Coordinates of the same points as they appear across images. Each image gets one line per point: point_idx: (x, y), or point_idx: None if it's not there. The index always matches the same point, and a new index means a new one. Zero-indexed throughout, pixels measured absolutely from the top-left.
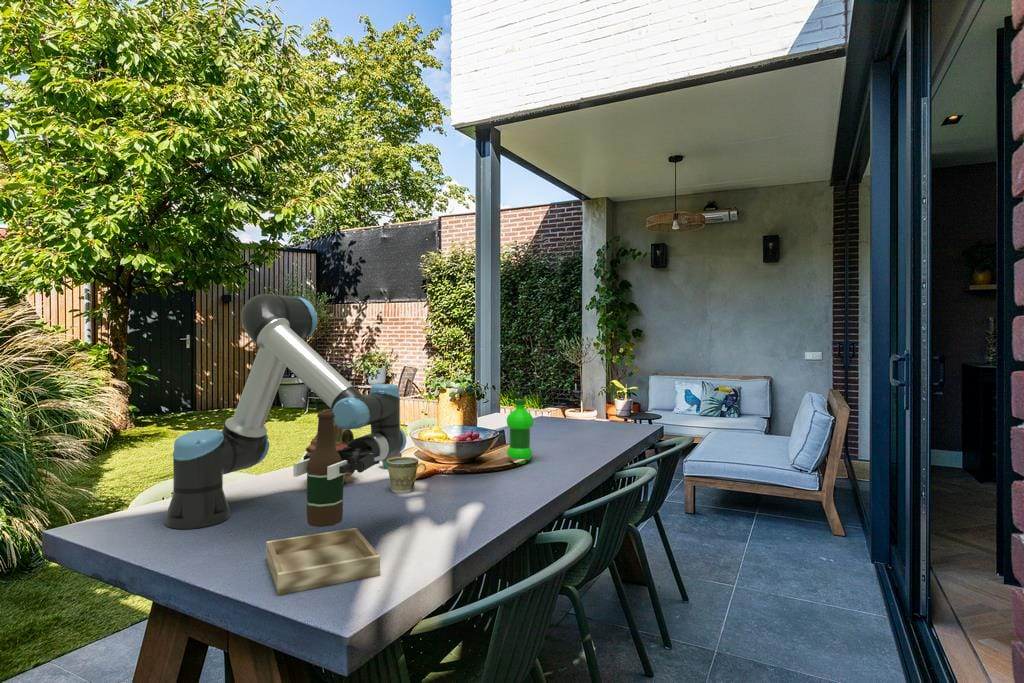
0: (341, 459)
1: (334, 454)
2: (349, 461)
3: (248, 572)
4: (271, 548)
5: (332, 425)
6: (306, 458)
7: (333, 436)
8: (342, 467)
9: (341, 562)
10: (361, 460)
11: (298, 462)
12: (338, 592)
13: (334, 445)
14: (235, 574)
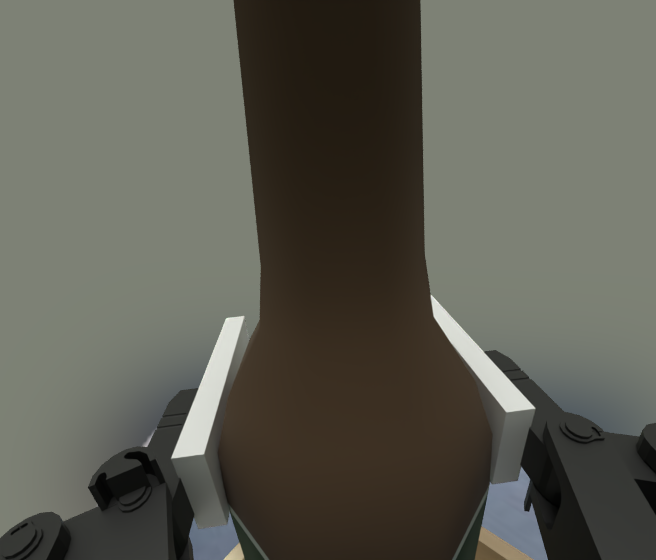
0: (223, 426)
1: (251, 338)
2: (152, 471)
3: (508, 523)
4: (513, 555)
5: (245, 72)
6: (639, 443)
7: (257, 207)
8: (188, 392)
9: (233, 557)
10: (2, 551)
11: (439, 310)
12: (227, 528)
13: (262, 296)
14: (517, 500)
